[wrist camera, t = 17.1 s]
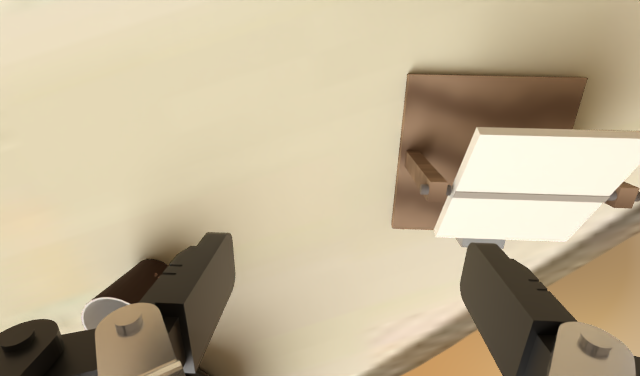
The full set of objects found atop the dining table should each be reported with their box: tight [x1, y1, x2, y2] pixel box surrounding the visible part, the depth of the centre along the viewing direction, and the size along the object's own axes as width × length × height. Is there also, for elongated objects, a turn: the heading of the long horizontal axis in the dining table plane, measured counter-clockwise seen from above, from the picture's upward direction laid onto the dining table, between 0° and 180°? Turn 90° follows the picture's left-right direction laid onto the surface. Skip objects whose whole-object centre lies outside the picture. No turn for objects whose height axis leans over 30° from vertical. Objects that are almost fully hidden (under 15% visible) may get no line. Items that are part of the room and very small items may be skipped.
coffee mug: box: [81, 259, 168, 330], centre depth 47 cm, size 12×9×10 cm
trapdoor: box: [434, 127, 640, 242], centre depth 31 cm, size 14×14×1 cm
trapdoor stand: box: [391, 74, 640, 230], centre depth 37 cm, size 20×20×13 cm
